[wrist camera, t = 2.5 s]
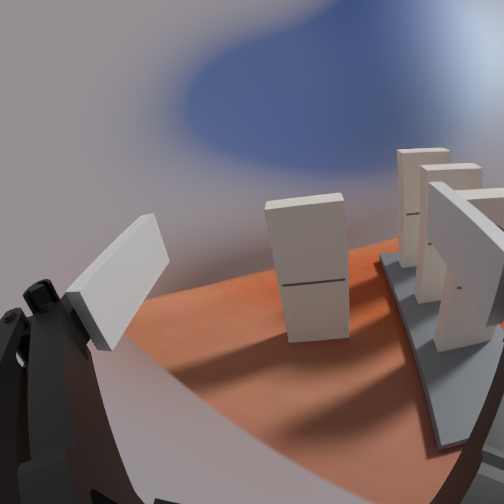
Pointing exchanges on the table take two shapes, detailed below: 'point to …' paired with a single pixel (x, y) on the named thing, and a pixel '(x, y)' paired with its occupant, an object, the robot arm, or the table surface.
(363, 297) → the table surface
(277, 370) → the table surface
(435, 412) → the board
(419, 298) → the domino
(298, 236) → the domino
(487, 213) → the domino
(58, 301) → the robot arm
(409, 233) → the domino
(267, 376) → the table surface
